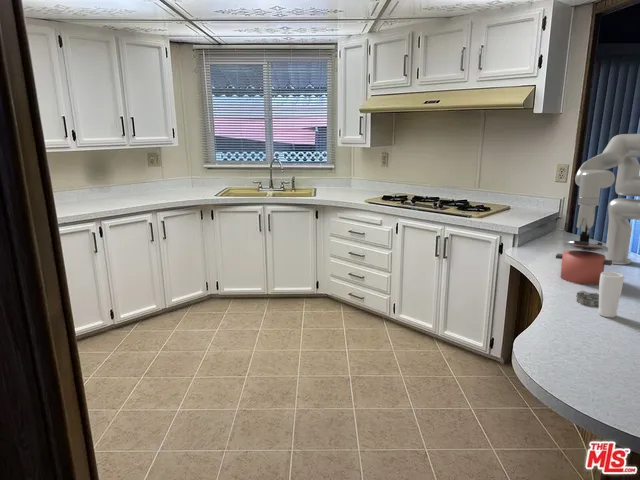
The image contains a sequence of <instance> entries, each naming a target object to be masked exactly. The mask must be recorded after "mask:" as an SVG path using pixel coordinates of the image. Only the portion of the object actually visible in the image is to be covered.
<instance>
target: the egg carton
mask: <svg viewBox="0 0 640 480" xmlns="http://www.w3.org/2000/svg"><path fill="white" fill-rule="evenodd" d="M576 302H578V303H577V304H579V303H580V305H588V304H589V306H590V305H592V307H594V305H595V306H597V307H599V293H598V292H595V293H594V292H588V291H584V290H580V291H577V292H576Z"/></svg>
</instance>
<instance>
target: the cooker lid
mask: <svg viewBox="0 0 640 480" xmlns="http://www.w3.org/2000/svg"><path fill="white" fill-rule="evenodd" d="M562 246H563V247H566V248H569V249H571V250H573V249H574V250H579V251H590V252H595V253H605V252H607V251H608V248H607V247H606V245H603V242H599V241H598V242H597V241H595V243H590V241H589V242H583V241H580V240H573V241H571V240H570V241H563V242H562Z"/></svg>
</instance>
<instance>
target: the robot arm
mask: <svg viewBox="0 0 640 480" xmlns="http://www.w3.org/2000/svg"><path fill="white" fill-rule="evenodd" d="M637 158H640V133H623V134H617V135H615V136H613V137H612V138H611V139H610V140H609V142H608V143H607V145H606V146H605V148H604V150H603V151H602V153H600V154H598V155H595V156H593V157H591V158H588V159H587V160H586V161H584V162H583V163H582V164H581V166H580V167H579V168H578V170H577V172H576V173H575V178H574V180H575V182H574V183H575V184H576V185H577V186H578V187H579V189H578V192H579V193H578V198H577V199H578V201H577V205H579V207H578V208H579V209H578V214H577V221H576V222H577V223H576V228H577V229H580V235H579V241H583V242H589V243H590V235H591V234H590V232H591V228H592V227H593V226H594V223H595V215H596V207H597V206H599V205H600V198H601V190H602V189H608V188H610V187H612V186H613V184H614V183H615V187H614V188H615V193H616V194H617V195H619V196H627V197H640V162H639V161H638V159H637ZM615 167H617V172H616V173H617V174H616V176H615V174H614V172H613V171H610V170H609V169H612V168H615ZM607 209H608V210H607V211H608V225H607V226H608V227H607V233H606V234H607V235H606V236H607V237H606V243H605V247H607V248H608V251H607V252H604V256H605V260H612V264H611V265H619V266H620V265H622V266H624V265H630V264H631V263H632V260H631V259H629V251H630V243H631V236H632V234H631V233H632V230H633V228H632V224H631V223H630V221H629V220H635V221H636V220H637V221H640V199H637V198H636V199H635V198H634V199H633V198H620V197H619V198H614V199H612V200H611V201H610V202H608V206H607Z"/></svg>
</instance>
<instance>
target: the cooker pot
mask: <svg viewBox="0 0 640 480" xmlns="http://www.w3.org/2000/svg"><path fill="white" fill-rule="evenodd" d="M555 259H559V260H561V270H560V278H561V280H563V281H565V280H566V282H568V281H569V282H568V283H572V282H573V284H577V283H579V284H578V285H585V284H595V285H599V281H600V275H601V273H602V272H605V266H608V267H609V266H612V265H613V264H612V260H605V254H602V253H600V252H593V251H584V250H577V249H574V250H573V249H571V250H566V251H563V252H562V253H556V254H555Z"/></svg>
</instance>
